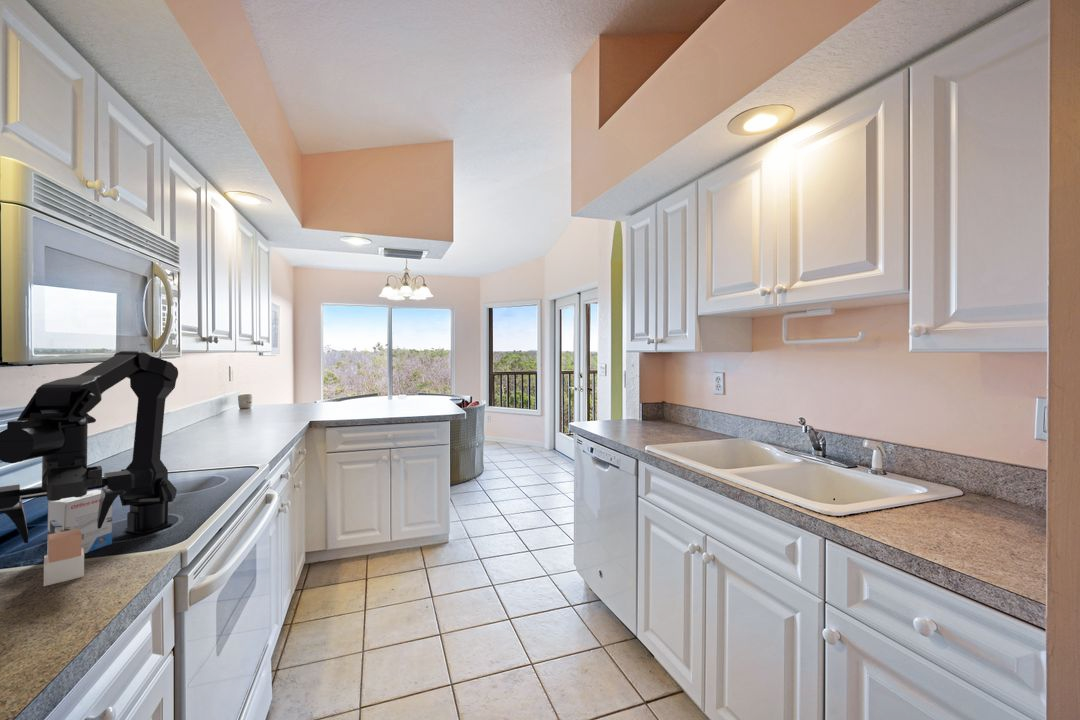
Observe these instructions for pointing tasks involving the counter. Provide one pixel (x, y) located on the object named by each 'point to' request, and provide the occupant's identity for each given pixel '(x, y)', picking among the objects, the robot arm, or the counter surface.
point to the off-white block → (63, 569)
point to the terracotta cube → (64, 545)
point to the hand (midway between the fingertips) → (64, 535)
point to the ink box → (81, 519)
